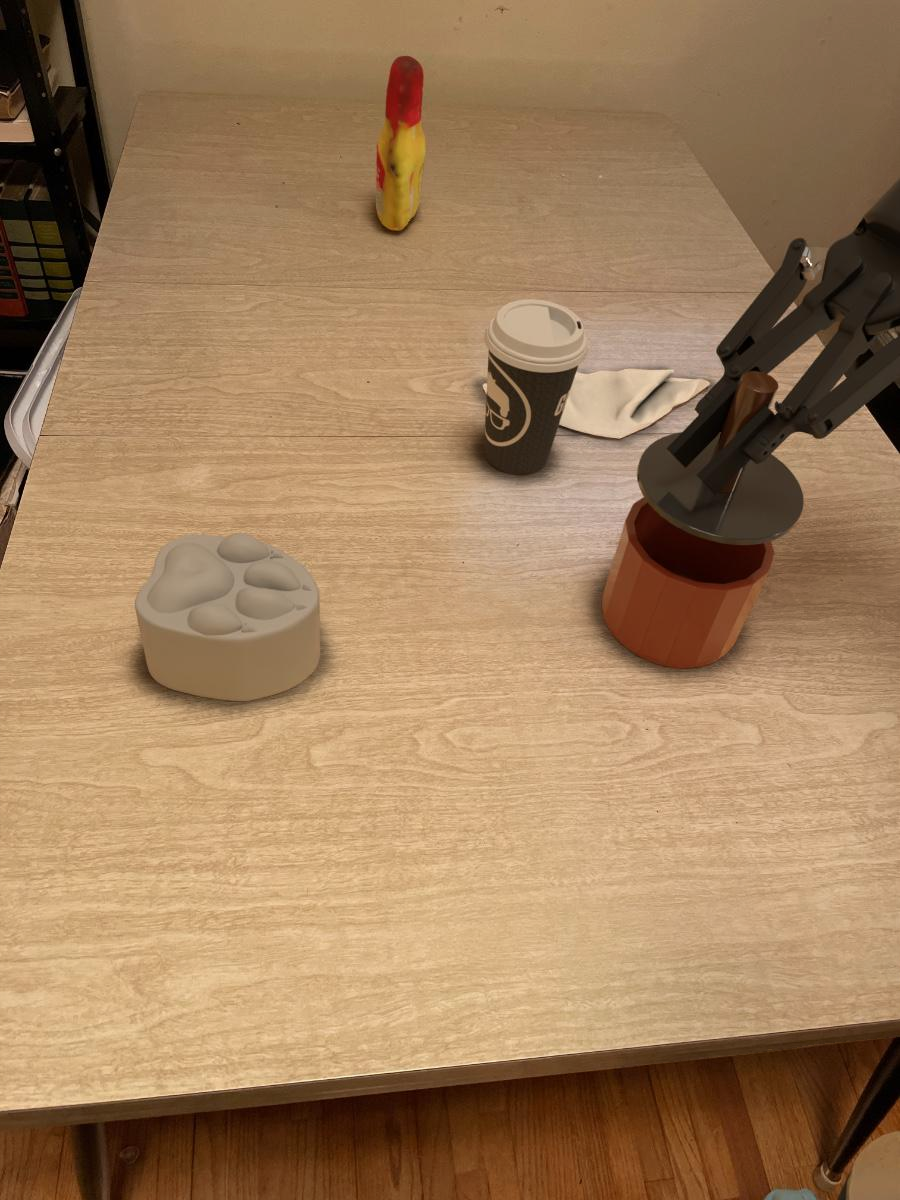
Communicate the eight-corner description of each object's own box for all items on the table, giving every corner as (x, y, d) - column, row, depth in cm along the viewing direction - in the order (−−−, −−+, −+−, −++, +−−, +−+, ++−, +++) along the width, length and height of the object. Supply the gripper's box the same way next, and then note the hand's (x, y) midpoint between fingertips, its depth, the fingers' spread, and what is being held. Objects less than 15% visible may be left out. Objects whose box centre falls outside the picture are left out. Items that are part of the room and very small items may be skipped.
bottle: (413, 241, 126) (425, 77, 111) (365, 234, 126) (370, 69, 111) (425, 202, 134) (437, 44, 119) (380, 195, 134) (387, 36, 119)
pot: (762, 650, 82) (803, 572, 75) (643, 682, 78) (674, 603, 71) (691, 556, 89) (722, 477, 82) (578, 582, 85) (600, 501, 79)
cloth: (484, 431, 99) (487, 413, 98) (480, 357, 109) (483, 339, 107) (730, 449, 101) (737, 431, 99) (705, 374, 110) (711, 357, 109)
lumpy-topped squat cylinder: (179, 589, 80) (167, 511, 74) (332, 613, 80) (333, 538, 74) (135, 685, 73) (118, 609, 67) (303, 713, 73) (301, 639, 67)
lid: (831, 533, 72) (890, 422, 64) (688, 566, 68) (733, 452, 60) (739, 432, 79) (782, 322, 72) (606, 456, 76) (636, 343, 68)
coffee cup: (546, 496, 93) (576, 363, 82) (454, 467, 95) (472, 332, 84) (573, 442, 99) (604, 311, 89) (486, 415, 101) (506, 284, 90)
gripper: (1048, 296, 63) (781, 555, 68) (867, 193, 71) (642, 430, 77) (1044, 232, 57) (751, 521, 62) (847, 128, 65) (604, 391, 71)
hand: (691, 471), depth 69 cm, fingers closed on lid, 3 cm apart
